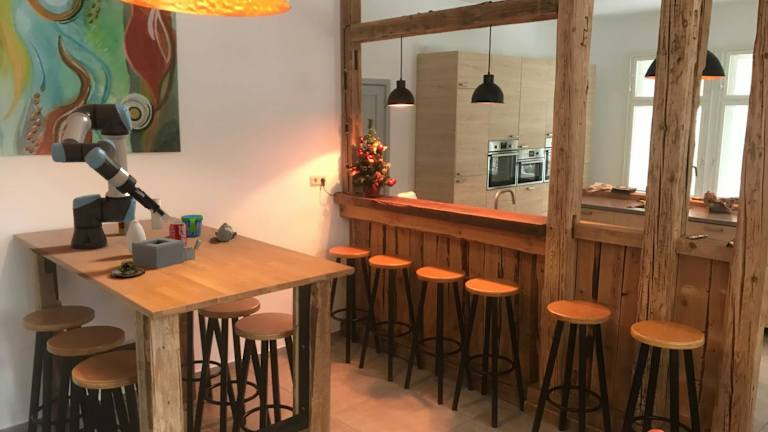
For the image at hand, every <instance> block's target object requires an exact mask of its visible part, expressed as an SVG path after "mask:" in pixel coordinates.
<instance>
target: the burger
mask: <svg viewBox="0 0 768 432" xmlns="http://www.w3.org/2000/svg"><path fill="white" fill-rule="evenodd" d="M143 272H144V273H143ZM110 273H111V274H112V275H111V277H112V278H113V279H116V277H121V278H122V277H123V278H124V277H125V278H126V277H127V278H128V277H134V276H139V275H141V274H142V273H143V274H146V269H145V268H143V267H136V265H133V259H126V258H125V259H124V260H123V261H122V262H121V263H120V266H118V268H115V269H114V270H112V271H111V272H110Z"/></svg>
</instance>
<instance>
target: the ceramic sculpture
mask: <svg viewBox="0 0 768 432" xmlns="http://www.w3.org/2000/svg"><path fill="white" fill-rule="evenodd" d="M237 234H238V233H237V231H234V230H233V228H232V226H231V225H229V224H228V223H227V222H223V224H221V225H220V227H219V228H218V229H217V231H215V232H214V235H215V236H216V237H217V239H218V241H220V242H229V241H231V240H232V239H233V238H235V237H236V236H237Z"/></svg>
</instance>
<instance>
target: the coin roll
mask: <svg viewBox="0 0 768 432" xmlns="http://www.w3.org/2000/svg"><path fill="white" fill-rule="evenodd" d="M151 199H152V200H153V201H155V202H156V203H157V204H158V205H159V206H160V208H161V209H162V199H161V198H151ZM150 216H151V219H150V220H151V230H154V231H158V230H162V229H163V220H162V218H160V217H159V216H158V215H157V214H156V213H153V210H152V209H151V211H150Z"/></svg>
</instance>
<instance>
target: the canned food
mask: <svg viewBox="0 0 768 432" xmlns="http://www.w3.org/2000/svg"><path fill="white" fill-rule="evenodd" d="M131 223H132V221H129V222H117V224H118V227H117V228H118V235H119V236H126V235H127V231H128V228H129V226H130V224H131Z"/></svg>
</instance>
